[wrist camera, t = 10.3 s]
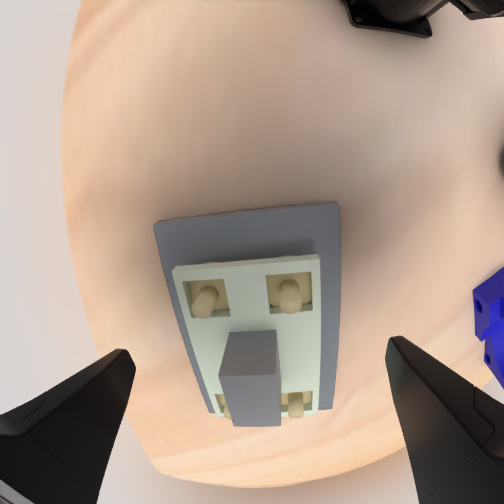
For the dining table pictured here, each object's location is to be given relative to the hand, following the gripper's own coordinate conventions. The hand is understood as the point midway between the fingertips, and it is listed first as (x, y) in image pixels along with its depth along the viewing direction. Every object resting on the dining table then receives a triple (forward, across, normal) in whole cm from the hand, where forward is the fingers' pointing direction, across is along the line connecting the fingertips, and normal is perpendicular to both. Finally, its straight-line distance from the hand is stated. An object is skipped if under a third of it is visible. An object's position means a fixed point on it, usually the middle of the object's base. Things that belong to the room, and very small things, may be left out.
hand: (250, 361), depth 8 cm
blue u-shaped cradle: (+11, -22, +11) cm, 27 cm away
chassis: (+11, +1, +7) cm, 13 cm away
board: (+8, +1, +7) cm, 11 cm away
